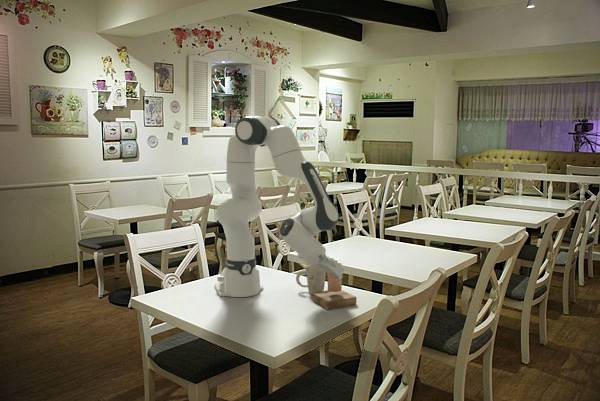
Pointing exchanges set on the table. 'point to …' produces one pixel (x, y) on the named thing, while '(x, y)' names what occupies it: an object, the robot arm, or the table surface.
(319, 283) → the mug
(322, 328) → the table surface
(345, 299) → the pedestal
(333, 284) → the canister
